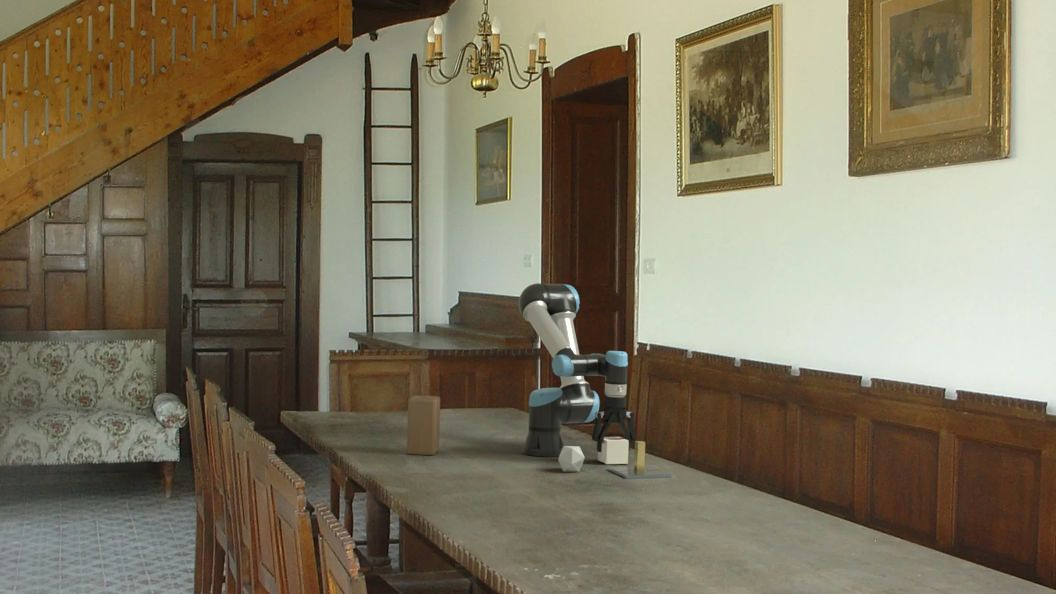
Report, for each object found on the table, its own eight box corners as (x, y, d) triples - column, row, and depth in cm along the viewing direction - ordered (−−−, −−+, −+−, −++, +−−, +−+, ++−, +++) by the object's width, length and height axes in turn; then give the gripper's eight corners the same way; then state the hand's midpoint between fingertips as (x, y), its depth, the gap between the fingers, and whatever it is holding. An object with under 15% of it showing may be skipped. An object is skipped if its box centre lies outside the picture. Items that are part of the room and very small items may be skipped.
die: (575, 476, 358) (591, 451, 361) (552, 461, 359) (568, 436, 362) (573, 481, 366) (589, 456, 369) (551, 466, 367) (567, 441, 370)
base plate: (626, 478, 353) (627, 446, 353) (607, 469, 368) (608, 438, 368) (671, 477, 358) (672, 445, 358) (651, 468, 373) (652, 437, 373)
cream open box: (606, 464, 377) (607, 440, 377) (597, 459, 385) (598, 436, 384) (627, 463, 380) (628, 439, 379) (619, 459, 387) (619, 435, 387)
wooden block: (439, 451, 395) (440, 396, 395) (434, 456, 385) (435, 399, 385) (411, 450, 396) (413, 394, 396) (406, 454, 386) (407, 397, 386)
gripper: (591, 397, 374) (588, 463, 375) (647, 397, 381) (644, 462, 382) (583, 394, 382) (580, 459, 382) (638, 394, 388) (636, 458, 389)
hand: (612, 460), depth 382 cm, fingers closed on cream open box, 8 cm apart
